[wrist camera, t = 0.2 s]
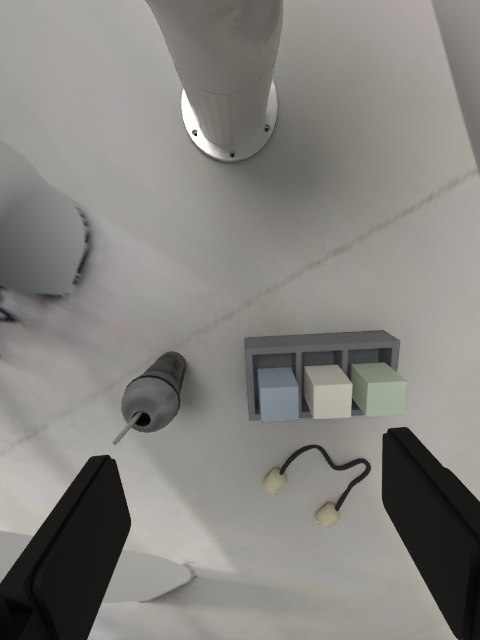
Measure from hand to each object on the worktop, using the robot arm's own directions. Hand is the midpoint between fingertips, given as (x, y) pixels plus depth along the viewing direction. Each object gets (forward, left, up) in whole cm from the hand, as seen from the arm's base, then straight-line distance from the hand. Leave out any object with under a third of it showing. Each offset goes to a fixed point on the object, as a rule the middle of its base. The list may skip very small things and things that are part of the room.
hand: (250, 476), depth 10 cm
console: (+13, +11, -36) cm, 40 cm away
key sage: (+13, +18, -32) cm, 39 cm away
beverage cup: (+11, -13, -37) cm, 40 cm away
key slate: (+13, +4, -32) cm, 35 cm away
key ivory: (+13, +11, -32) cm, 36 cm away
